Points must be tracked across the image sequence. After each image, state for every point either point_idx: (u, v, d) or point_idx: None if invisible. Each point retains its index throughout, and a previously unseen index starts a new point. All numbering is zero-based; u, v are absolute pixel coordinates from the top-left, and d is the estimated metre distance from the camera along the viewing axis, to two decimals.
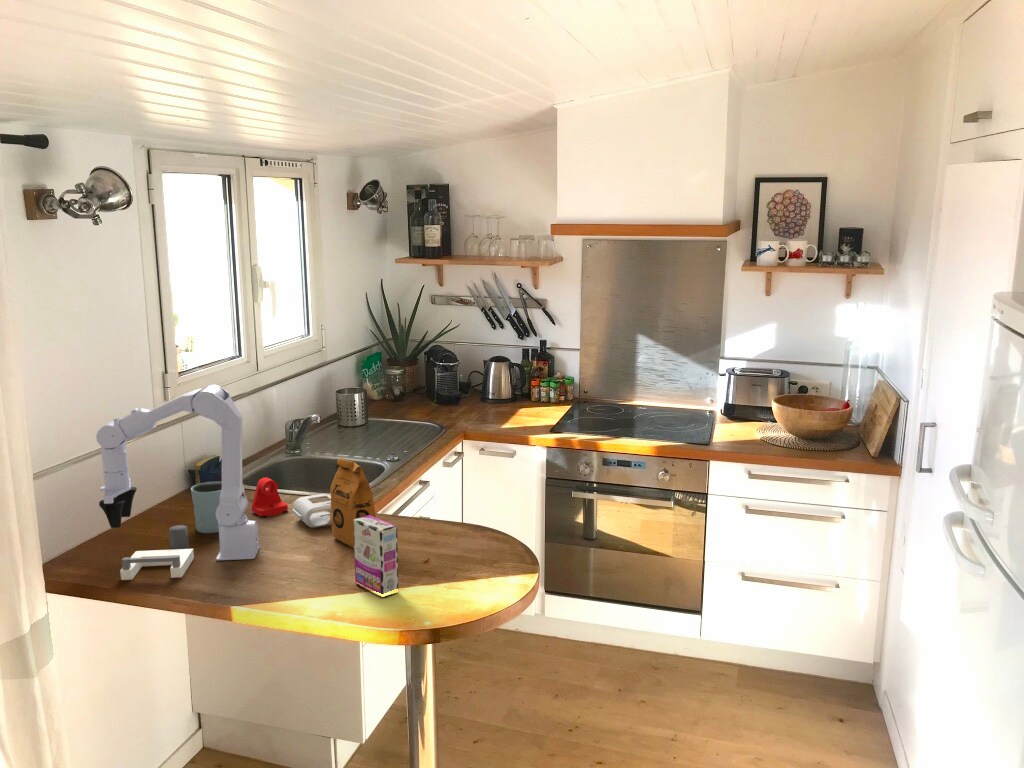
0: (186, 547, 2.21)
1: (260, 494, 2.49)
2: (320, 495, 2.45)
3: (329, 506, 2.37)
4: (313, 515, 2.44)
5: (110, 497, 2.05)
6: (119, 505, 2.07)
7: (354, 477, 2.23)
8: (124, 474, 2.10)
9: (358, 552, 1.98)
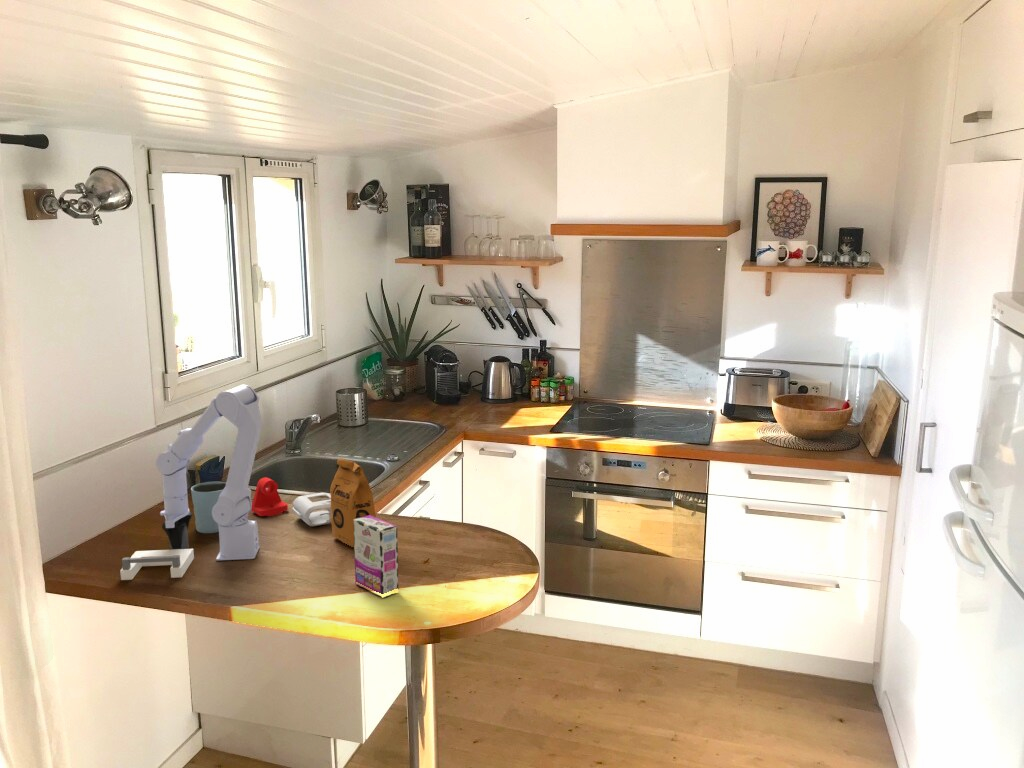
0: (186, 547, 2.21)
1: (260, 494, 2.49)
2: (319, 494, 2.46)
3: (328, 505, 2.38)
4: (312, 514, 2.45)
5: (171, 522, 2.13)
6: (181, 527, 2.16)
7: (354, 477, 2.23)
8: (184, 499, 2.18)
9: (358, 552, 1.98)
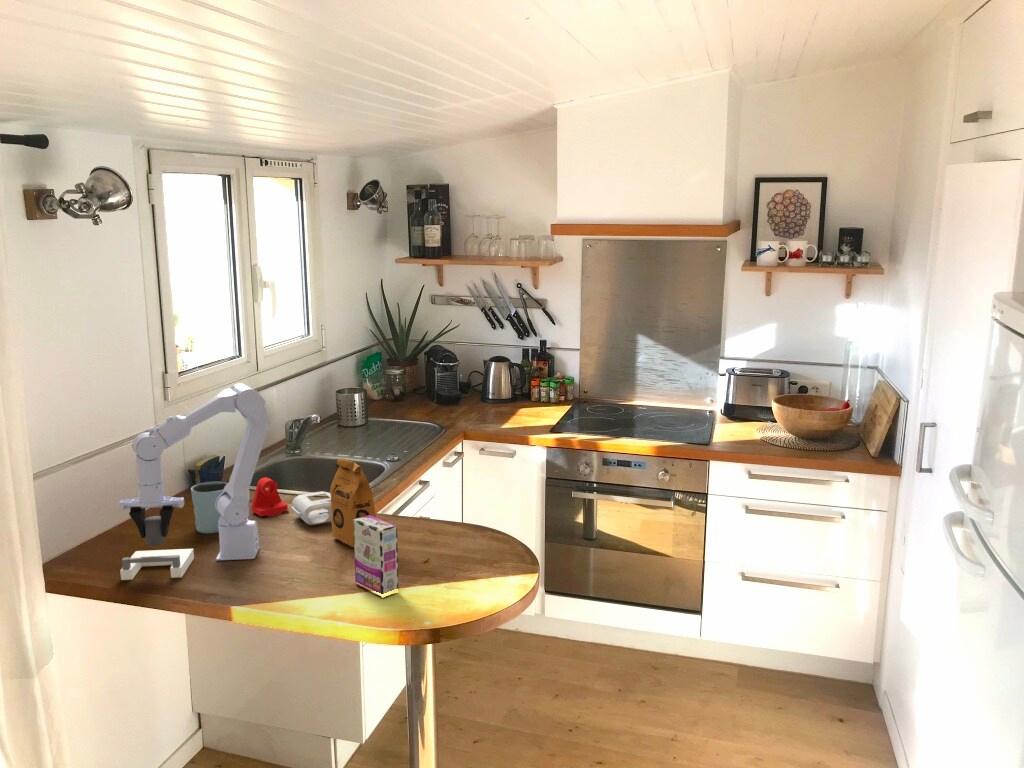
0: (148, 541, 2.05)
1: (260, 494, 2.49)
2: (319, 493, 2.47)
3: (327, 504, 2.39)
4: (312, 513, 2.46)
5: None
6: None
7: (354, 477, 2.23)
8: (141, 489, 2.02)
9: (358, 552, 1.98)
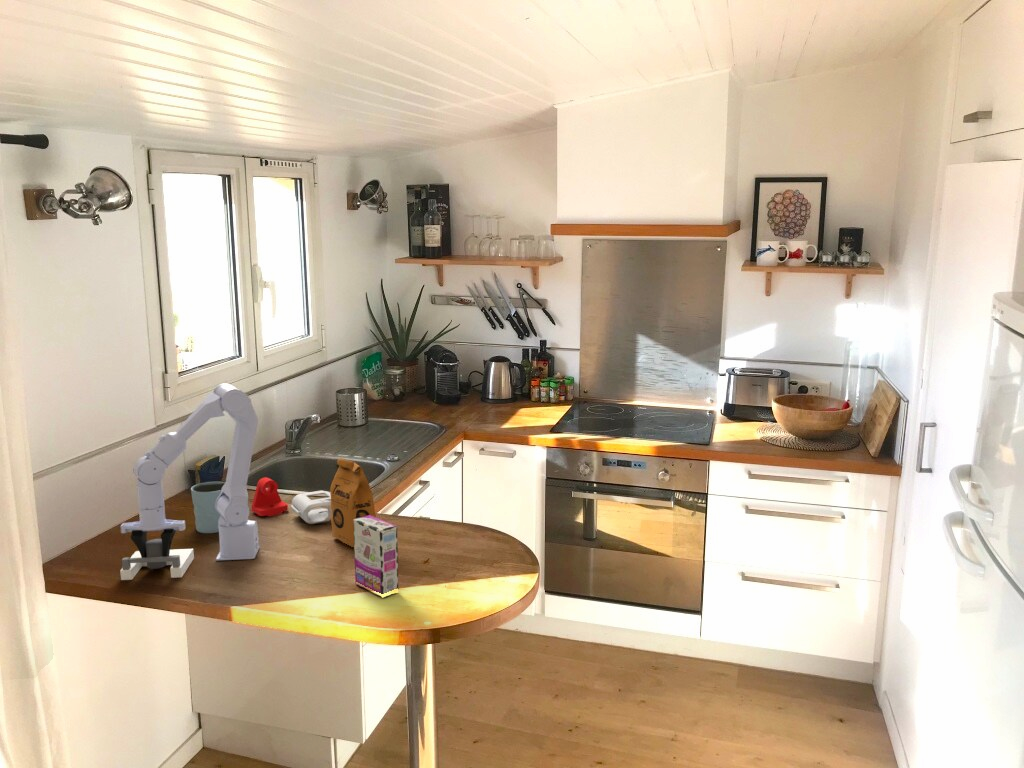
0: (150, 564, 2.06)
1: (260, 494, 2.49)
2: (318, 492, 2.48)
3: (327, 503, 2.40)
4: (311, 512, 2.47)
5: None
6: None
7: (354, 477, 2.23)
8: (142, 512, 2.03)
9: (358, 552, 1.98)
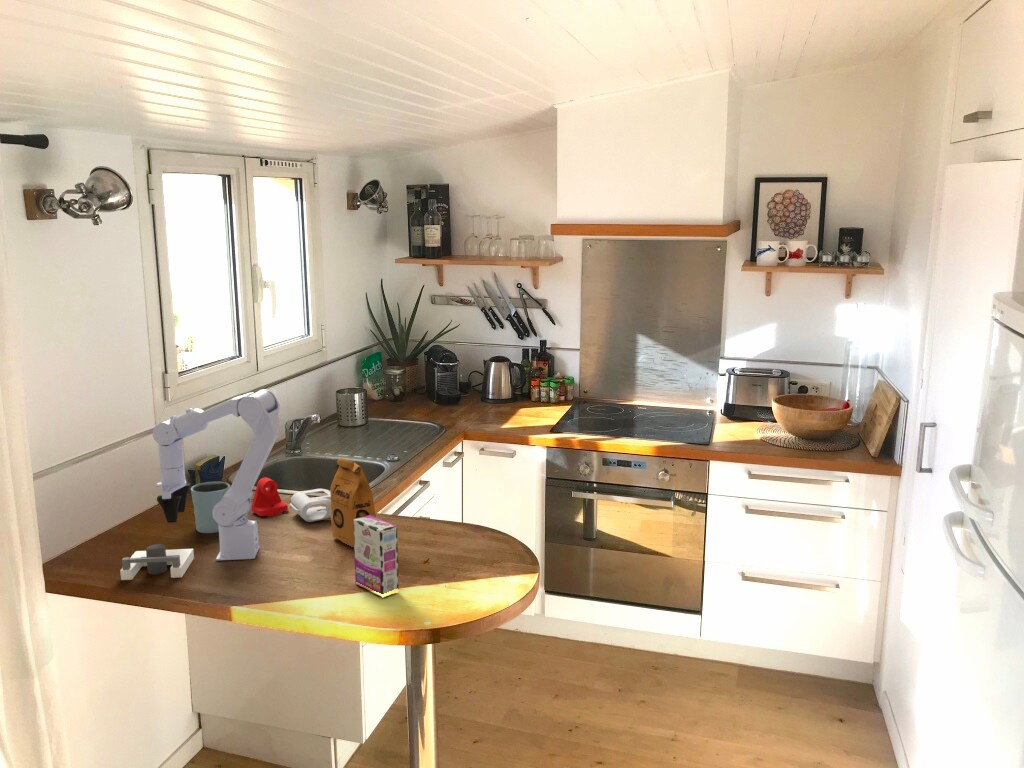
0: (150, 570, 2.06)
1: (260, 494, 2.49)
2: (317, 490, 2.50)
3: (325, 501, 2.41)
4: (310, 510, 2.49)
5: (168, 493, 2.10)
6: (176, 500, 2.12)
7: (354, 477, 2.23)
8: (180, 470, 2.15)
9: (358, 552, 1.98)
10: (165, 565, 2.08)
